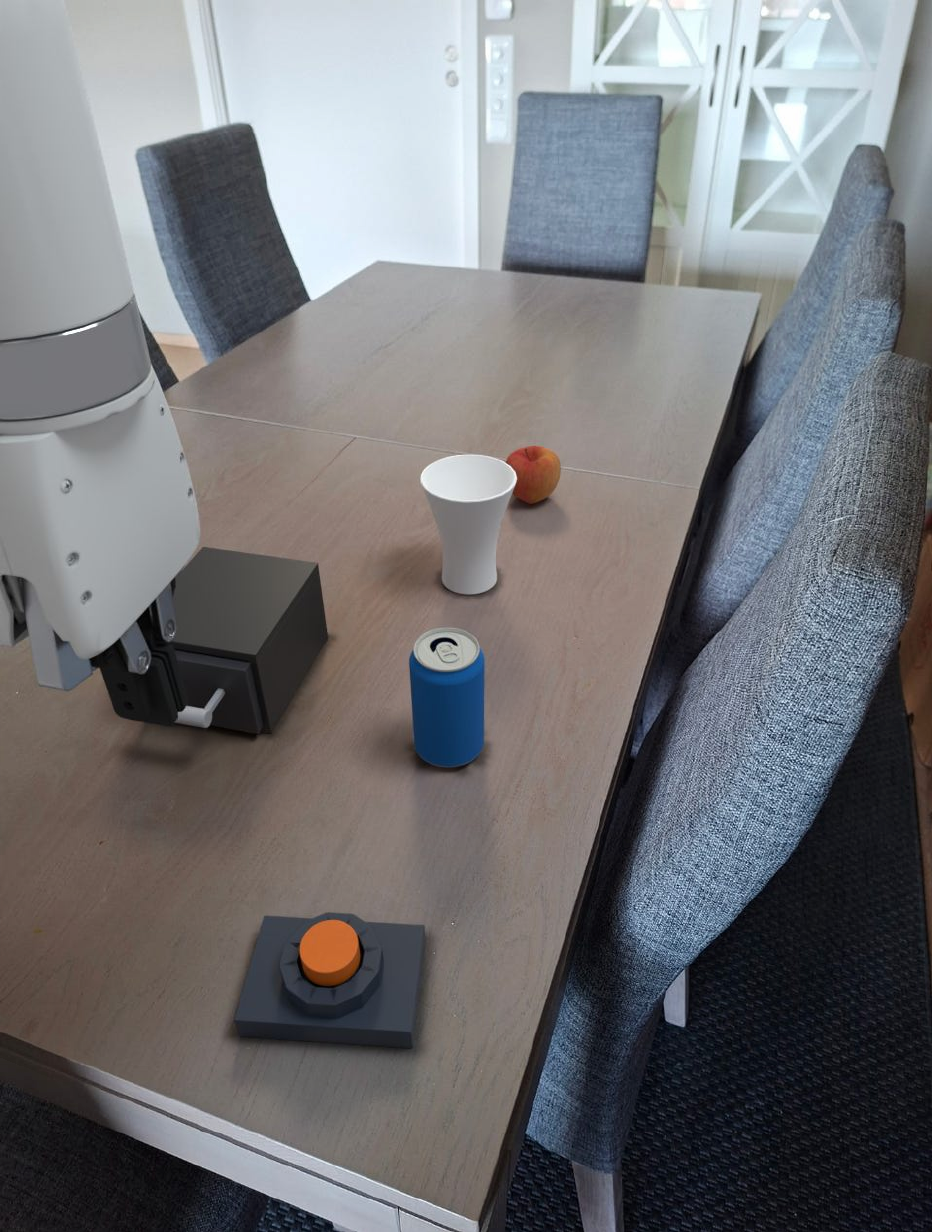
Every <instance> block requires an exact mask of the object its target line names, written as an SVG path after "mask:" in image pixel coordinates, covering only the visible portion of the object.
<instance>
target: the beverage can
mask: <svg viewBox="0 0 932 1232" xmlns="http://www.w3.org/2000/svg"><path fill="white" fill-rule="evenodd" d="M485 659H486V658H485V655H484V652H483V650H482V649H481V647H480V643H479V641H478V639H477V638H476V637H475V636H474V635H473V634H472V633H470V632H468V631H466V630H464V629H462V628H461V629H460V628H457V627H438V628H434V629H431V630H428V631H426V632H424V633H422V634H421V635H420V636H419V637H417V640H416V641H414V645H413V648H412V651H411V652H410V655H409V658H408V668H409V682H410V683H409V684H410V699H411V700H410V702H411V716H412V733H413V744H414V745H413V746H414V749H415V751H416V753H417V755H418V756H419V757H420V758H421V759H422V760H423V761H425V762H427V763H429V764H431V765H433V766H436V767H441V768H457V767H460V766H464V765H466V764H469V763H470V762H472V761H474V760H475V759H476V758H477V757H479V755H480V754H481V753H482V750H483V749H484V744H485V671H486V670H485V668H486V667H485V666H486V665H485V664H486V663H485V661H486V660H485Z"/></svg>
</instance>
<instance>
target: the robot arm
mask: <svg viewBox="0 0 932 1232" xmlns="http://www.w3.org/2000/svg"><path fill="white" fill-rule="evenodd" d="M87 89H88V88H87V85H86V81H85V77H84V73H83V69H82V64H81V59H80V56H79V52H78V47H77V43H76V39H75V35H74V29H73V26H72V23H71V19H70V16H69V12H68V9H67V5H66V1H65V0H0V646H3V647H8V648H9V647H10V648H14V647H15V646H16V645H17V644H18V643H21V642H23V641H24V640H25V639H26V638H28V640H29V646H30V652H31V658H32V663H33V664H32V665H33V669H34V676H35V682H36V684H37V685H38V686H39V687H41V688H46V689H53V690H57V691H63V692H70V691H72V690H74V689H75V688H76V687H78V686H79V685H81V684H82V683H83V682H84V681H86V680H87V679H89V678H91V676H93V674H94V673H93V672H95V671H96V670H98V669H99V671H100V674H101V676H102V680H103V683H104V685H105V688H106V691H107V693H108V697H109V699H110V703H111V705H112V708H113V710H114V713H115V714H116V715H117V716H118V717H119V718H122V719H124V720H125V719H126V720H128V721H134V722H141V723H146V724H147V723H148V724H151V725H157V726H162V727H168V728H171V727H173V726H174V724H175V723H176V722H175V721H176V720H177V719H178V712H182V711H183V710H184V709H185V708H186V706H187V705H188V703H189V700H188V697H187V693H186V689H185V686H184V682H183V679H182V675H181V671H180V668H179V664H178V661H177V657H176V653H175V650H174V646H173V645H169V644H168V642H170V641H172V640H173V639H174V637H175V635H176V631H177V622H176V616H175V609H174V603H173V595H174V590H175V588H176V585H175V584H176V579H177V578H178V576H179V574H180V573H181V571H182V570H183V569H184V568H185V567H186V565H187V564H188V563H189V561H190V559H192V556H193V555H194V553H195V552H196V550H197V548H198V547H199V543H200V540H201V522H200V515H199V509H198V504H197V497H196V494H195V490H194V484H193V482H192V478H191V473H190V469H189V466H188V461H187V460H186V455H185V451H184V448H183V445H182V442H181V439H180V435H179V432H178V429H177V426H176V423H175V420H174V418H173V415H172V412H171V409H170V406H169V403H168V401H167V399H166V396H165V394H164V390H163V388H162V386H161V383H160V380H159V379H158V376H157V374H156V371H155V369H154V367H153V364H152V361H151V356H150V351H149V348H148V347H149V346H148V344H147V338H146V335H145V331H144V327H143V323H142V322H143V321H142V317H141V313H140V310H139V306H138V301H137V297H136V294H135V291H134V286H133V281H132V276H131V271H130V268H129V263H128V259H127V255H126V251H125V247H124V242H123V239H122V235H121V229H120V226H119V223H118V222H119V221H118V216H117V214H116V209H115V205H114V201H113V197H112V192H111V188H110V184H109V180H108V175H107V171H106V167H105V162H104V158H103V154H102V150H101V145H100V141H99V137H98V132H97V129H96V123H95V120H94V116H93V111H92V107H91V102H90V99H89V98H90V97H89V94H88V90H87Z"/></svg>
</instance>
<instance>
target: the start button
mask: <svg viewBox="0 0 932 1232" xmlns="http://www.w3.org/2000/svg"><path fill="white" fill-rule="evenodd" d="M299 953H300V958H301V962H302V967H303V970H304V973H305V975H306V976H307V977H308V979H309V980H311V981H312V982H314V983H315V984H318V985H321V986H335V985H338V984H341V983H343V982H345V981H346V980H348V979H349V978H350V977H351V976H352V975H353V974H354V973H355V971H356V970H357V968H358V965H359V962H360V949H359V942H358V937H357V934H356V932H355V931H354V929H353V928H352V927H351V926H349V925H348V924H347V923H345V922H342V921H339V920H326V921H322V922H320V923H318V924H316V925H314V926H312V927H311V928H310V929H309V930H308V931H307V932H306V933H305V935H304V936H303V938H302V940H301V943H300V948H299Z"/></svg>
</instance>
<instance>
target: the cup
mask: <svg viewBox="0 0 932 1232" xmlns="http://www.w3.org/2000/svg"><path fill="white" fill-rule="evenodd" d="M419 480H420V481H419V482H420V485H421V488H422V490H423V493H424V496H425V497H426V500H427V503H428V504H429V507H430V510H431V513H432V515H433V518H434V521H435V523H436V526H437V530H438V534H439V538H440V542H441V551H442V570H441V582H442V584H443V586H444V587H445V588H446V589H448V590H450V591H451V592H454V593H456V594H460V595H477V594H481V593H484V592H487V591H489V590H491V589H492V588H493V587H494V586H495V585H496V584H497V581H498V571H497V562H496V556H497V546H498V539H499V533H500V529H501V524H502V522H503V520H504V516H505V514H506V511H507V508H508V505H509V502H510V500H511V497H512V495H513V493H512V492H513V490H514V487H515V484H516V481H517V476H516V472H515V471H514V470H513V469H512V467H511V466H510V465H508V464H506V461H503V460H502V459H498V458H496V457H492V456H488V455H483V454H470V453H469V454H456V455H451V456H446V457H443V458H440V459H437V460H435V461H433V462H432V463H430V464H428V465H427V466H426V467H425V468H424V469H422V473H421V474H420V479H419Z"/></svg>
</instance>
